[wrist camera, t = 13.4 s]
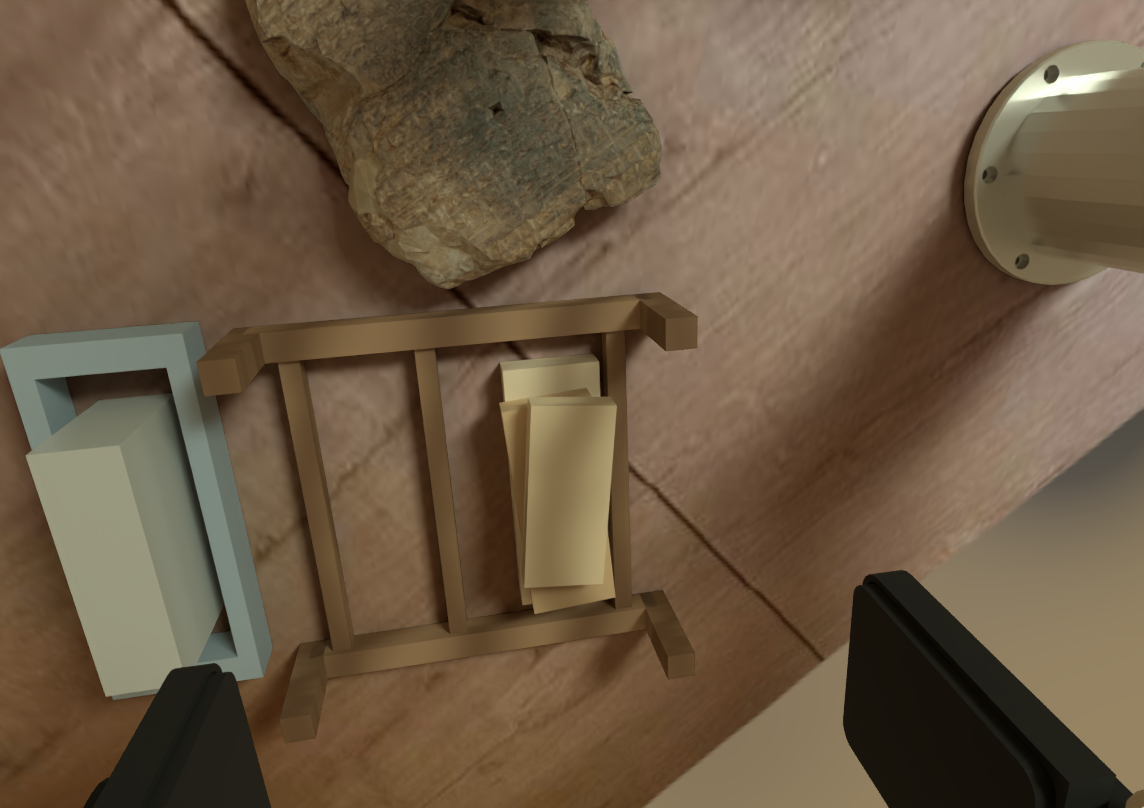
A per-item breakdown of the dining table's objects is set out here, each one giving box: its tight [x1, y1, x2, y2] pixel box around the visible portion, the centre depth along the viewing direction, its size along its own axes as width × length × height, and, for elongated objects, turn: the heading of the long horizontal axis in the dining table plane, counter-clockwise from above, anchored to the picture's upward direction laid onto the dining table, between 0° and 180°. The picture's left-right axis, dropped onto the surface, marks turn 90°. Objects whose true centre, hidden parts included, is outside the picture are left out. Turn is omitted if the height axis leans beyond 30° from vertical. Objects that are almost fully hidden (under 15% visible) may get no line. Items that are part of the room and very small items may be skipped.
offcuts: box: [499, 353, 617, 614], centre depth 39 cm, size 6×14×4 cm, turn 3°
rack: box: [196, 292, 698, 743], centre depth 38 cm, size 22×20×6 cm
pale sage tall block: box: [26, 393, 225, 697], centre depth 35 cm, size 4×12×7 cm, turn 3°
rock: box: [245, 0, 661, 289], centre depth 31 cm, size 14×5×20 cm
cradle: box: [0, 321, 273, 700], centre depth 37 cm, size 8×19×2 cm, turn 3°
